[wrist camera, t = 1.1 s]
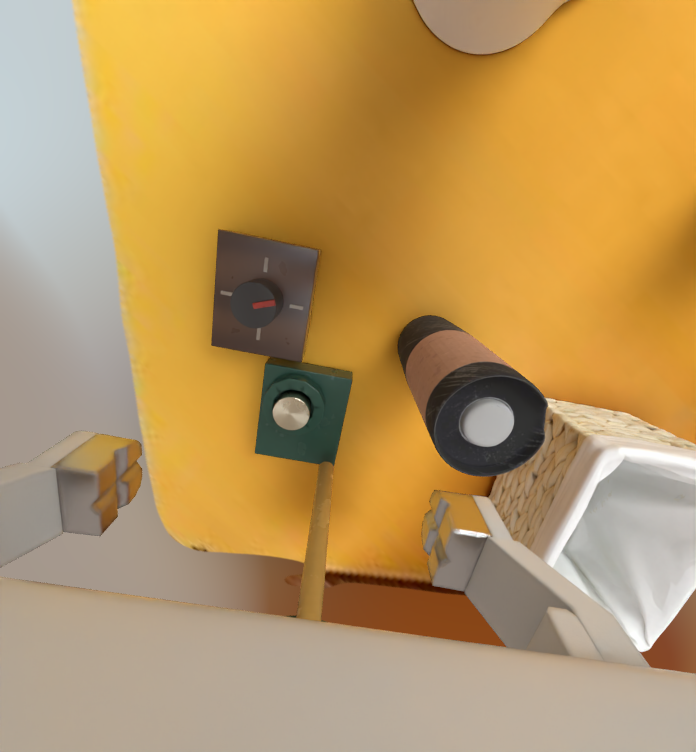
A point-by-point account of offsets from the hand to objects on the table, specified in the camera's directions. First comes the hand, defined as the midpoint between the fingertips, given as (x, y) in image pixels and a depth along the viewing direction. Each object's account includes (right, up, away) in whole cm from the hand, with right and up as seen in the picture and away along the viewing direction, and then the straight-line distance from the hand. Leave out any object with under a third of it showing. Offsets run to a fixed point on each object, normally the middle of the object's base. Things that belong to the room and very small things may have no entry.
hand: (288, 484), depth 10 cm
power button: (-4, 0, +30) cm, 30 cm away
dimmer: (-7, +12, +29) cm, 33 cm away
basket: (+29, -10, +37) cm, 48 cm away
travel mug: (+11, +7, +31) cm, 34 cm away
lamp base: (-4, -1, +34) cm, 35 cm away
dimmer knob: (-7, +11, +27) cm, 30 cm away
